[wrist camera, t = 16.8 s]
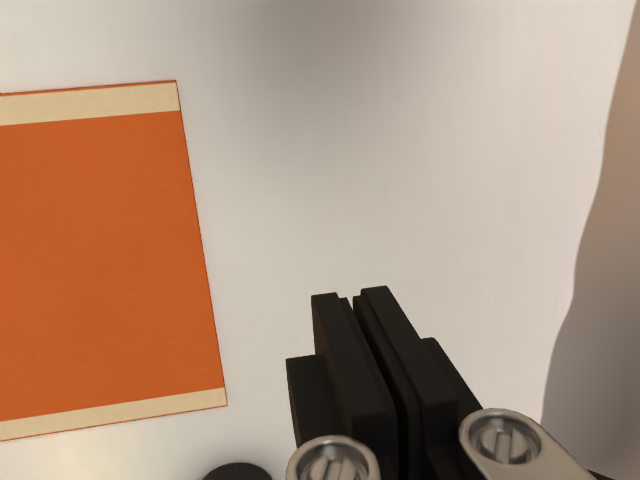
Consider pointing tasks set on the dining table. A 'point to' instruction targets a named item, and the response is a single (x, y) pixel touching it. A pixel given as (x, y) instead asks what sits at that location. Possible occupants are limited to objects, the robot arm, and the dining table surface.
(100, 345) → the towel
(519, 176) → the dining table surface
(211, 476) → the travel mug
